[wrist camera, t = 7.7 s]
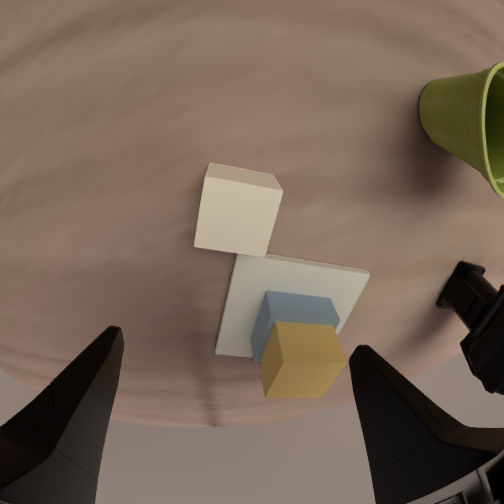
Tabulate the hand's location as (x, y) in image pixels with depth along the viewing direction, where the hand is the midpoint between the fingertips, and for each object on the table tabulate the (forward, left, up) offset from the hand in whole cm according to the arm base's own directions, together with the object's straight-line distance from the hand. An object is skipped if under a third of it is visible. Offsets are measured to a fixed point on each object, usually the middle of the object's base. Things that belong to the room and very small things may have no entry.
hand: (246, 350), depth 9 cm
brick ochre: (-7, +9, -9) cm, 14 cm away
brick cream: (0, -1, -13) cm, 13 cm away
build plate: (-7, +9, -12) cm, 17 cm away
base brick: (-7, +9, -12) cm, 16 cm away
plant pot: (-15, -13, -13) cm, 23 cm away
